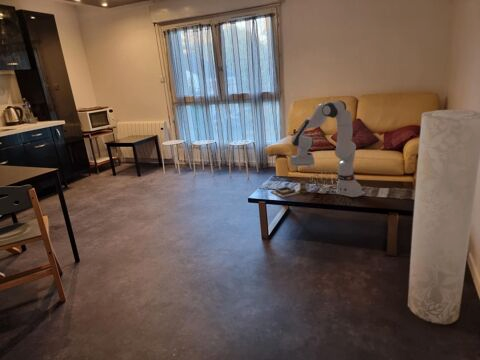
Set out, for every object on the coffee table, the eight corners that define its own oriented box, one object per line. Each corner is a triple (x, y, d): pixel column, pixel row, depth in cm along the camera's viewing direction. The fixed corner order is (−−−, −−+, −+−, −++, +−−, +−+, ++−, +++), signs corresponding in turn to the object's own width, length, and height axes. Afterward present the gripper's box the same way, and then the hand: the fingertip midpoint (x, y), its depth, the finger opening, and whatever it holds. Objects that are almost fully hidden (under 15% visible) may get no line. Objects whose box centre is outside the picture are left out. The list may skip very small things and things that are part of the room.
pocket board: (299, 193, 270) (299, 189, 269) (282, 198, 263) (282, 194, 262) (288, 188, 284) (287, 184, 284) (270, 192, 278) (270, 188, 277)
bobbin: (308, 191, 272) (308, 182, 270) (302, 193, 270) (302, 183, 268) (304, 189, 278) (303, 180, 275) (298, 191, 275) (297, 182, 273)
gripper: (289, 154, 287) (289, 168, 281) (314, 153, 283) (314, 167, 277) (290, 157, 292) (290, 171, 286) (314, 157, 288) (314, 171, 282)
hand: (302, 169), depth 281 cm, fingers open, 8 cm apart
